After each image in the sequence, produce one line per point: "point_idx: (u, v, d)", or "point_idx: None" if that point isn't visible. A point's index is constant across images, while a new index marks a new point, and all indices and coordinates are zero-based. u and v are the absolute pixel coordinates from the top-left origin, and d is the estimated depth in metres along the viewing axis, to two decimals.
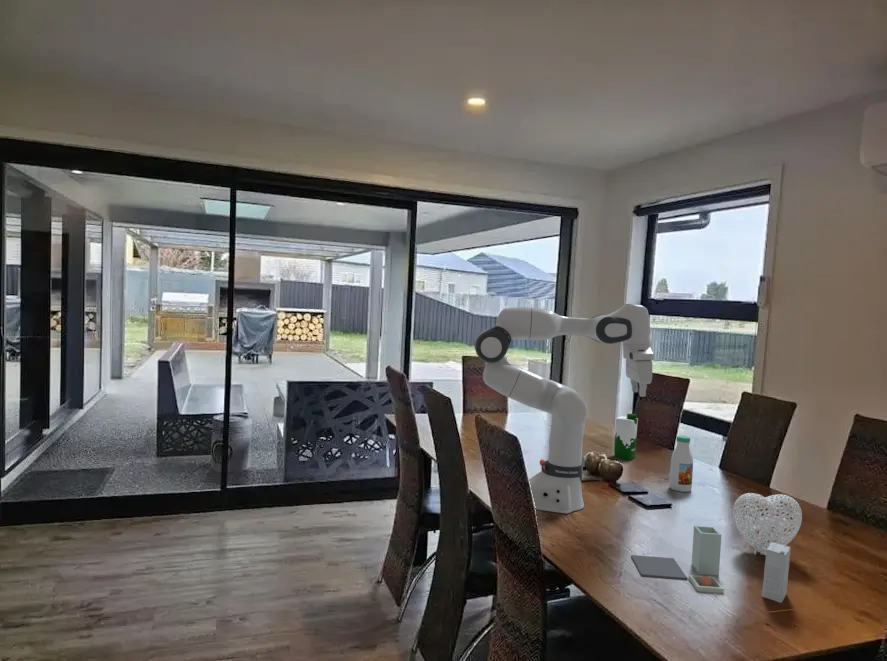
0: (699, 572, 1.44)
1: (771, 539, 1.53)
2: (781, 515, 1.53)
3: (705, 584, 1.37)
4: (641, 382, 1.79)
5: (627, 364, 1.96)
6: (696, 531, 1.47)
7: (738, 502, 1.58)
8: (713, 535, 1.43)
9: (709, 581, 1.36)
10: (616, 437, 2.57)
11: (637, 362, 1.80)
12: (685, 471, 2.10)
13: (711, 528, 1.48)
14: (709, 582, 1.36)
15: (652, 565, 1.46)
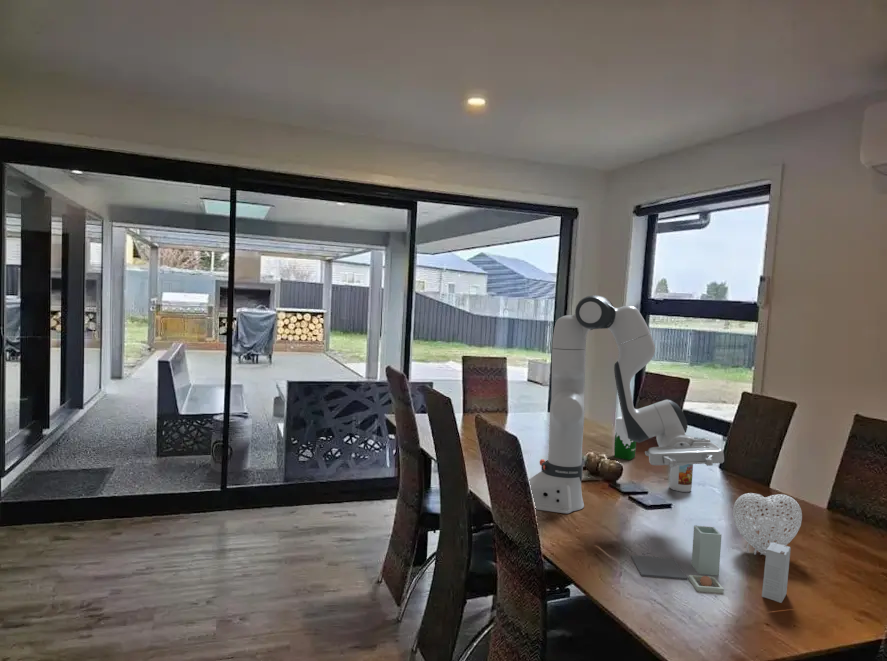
0: (699, 572, 1.44)
1: (771, 539, 1.53)
2: (781, 515, 1.53)
3: (705, 584, 1.36)
4: (722, 452, 1.61)
5: (657, 449, 1.68)
6: (696, 531, 1.47)
7: (738, 502, 1.58)
8: (713, 535, 1.43)
9: (709, 581, 1.36)
10: (616, 437, 2.57)
11: None
12: (685, 471, 2.10)
13: (711, 528, 1.48)
14: (709, 582, 1.36)
15: (652, 565, 1.46)
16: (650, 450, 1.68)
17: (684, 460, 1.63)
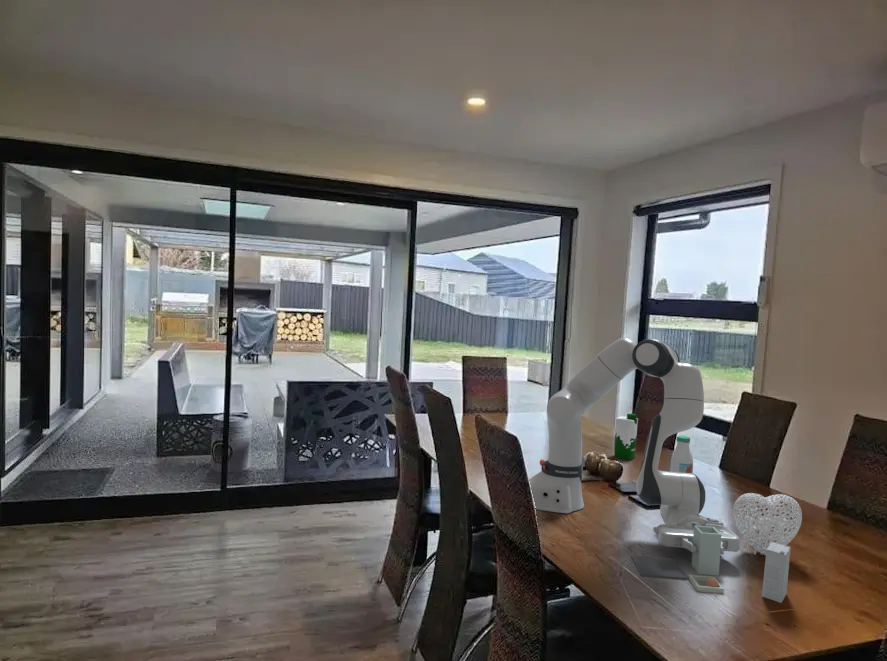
0: (699, 572, 1.44)
1: (771, 539, 1.53)
2: (781, 515, 1.53)
3: None
4: (739, 539, 1.49)
5: (668, 528, 1.55)
6: (696, 531, 1.47)
7: (738, 502, 1.58)
8: (713, 535, 1.43)
9: None
10: (616, 437, 2.57)
11: None
12: (685, 471, 2.10)
13: (711, 528, 1.48)
14: None
15: (652, 565, 1.46)
16: (661, 528, 1.54)
17: None
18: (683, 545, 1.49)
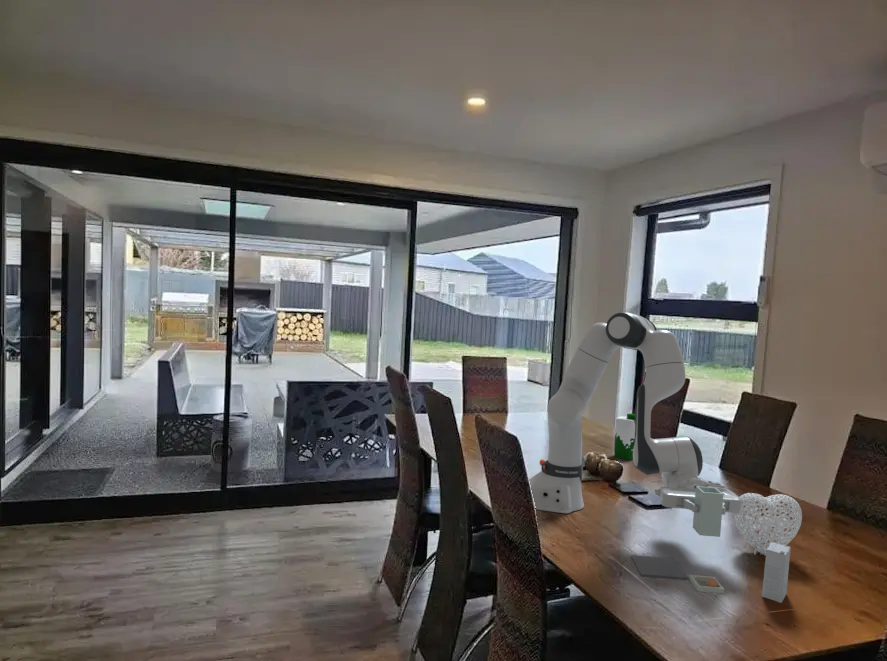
0: (701, 531, 1.44)
1: (771, 539, 1.53)
2: (781, 515, 1.53)
3: (708, 585, 1.36)
4: (740, 501, 1.49)
5: (669, 489, 1.54)
6: (698, 491, 1.46)
7: None
8: (715, 494, 1.43)
9: None
10: (616, 437, 2.57)
11: None
12: None
13: (713, 488, 1.47)
14: None
15: (652, 565, 1.46)
16: (662, 490, 1.53)
17: None
18: (685, 506, 1.48)
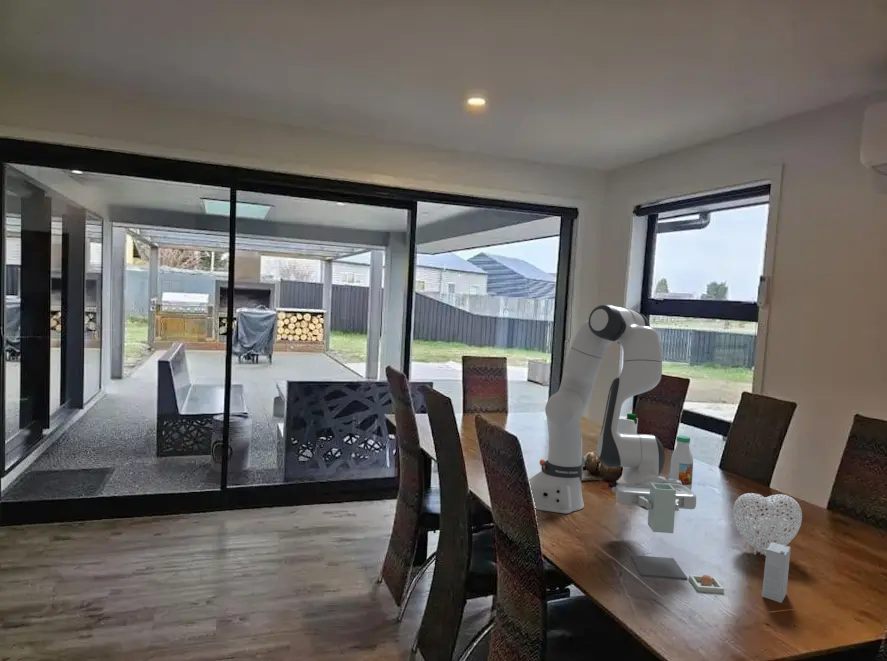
0: (654, 528, 1.44)
1: (771, 539, 1.53)
2: (781, 515, 1.53)
3: (703, 581, 1.37)
4: (695, 497, 1.49)
5: (626, 487, 1.54)
6: (652, 488, 1.46)
7: (738, 502, 1.58)
8: (668, 491, 1.43)
9: (708, 578, 1.37)
10: None
11: None
12: (685, 471, 2.10)
13: (667, 485, 1.47)
14: (708, 579, 1.37)
15: (652, 565, 1.46)
16: (618, 487, 1.54)
17: None
18: (639, 502, 1.49)
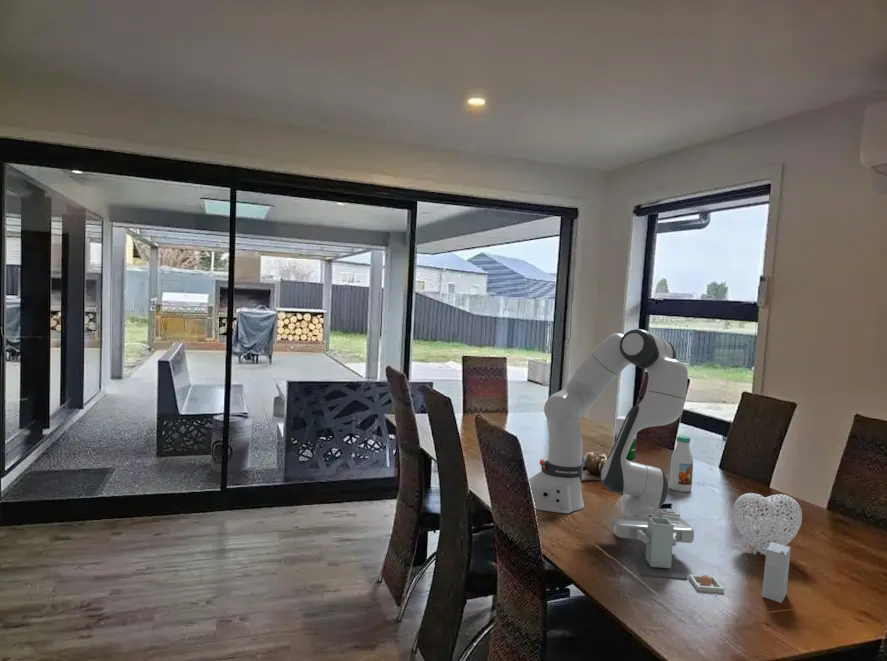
0: (652, 563, 1.44)
1: (771, 539, 1.53)
2: (781, 515, 1.53)
3: (702, 583, 1.37)
4: (693, 531, 1.50)
5: (624, 519, 1.55)
6: (649, 522, 1.47)
7: (738, 502, 1.58)
8: (665, 526, 1.43)
9: (706, 580, 1.37)
10: (616, 437, 2.57)
11: None
12: (685, 471, 2.10)
13: (665, 519, 1.48)
14: (706, 581, 1.37)
15: None
16: (616, 520, 1.54)
17: None
18: (637, 536, 1.49)
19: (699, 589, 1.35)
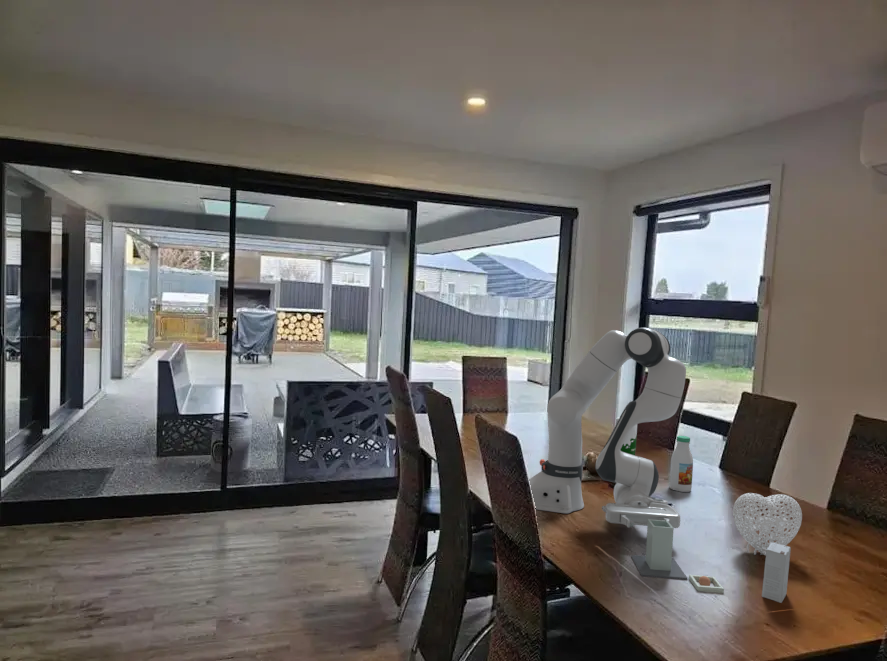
0: (651, 565, 1.44)
1: (771, 539, 1.53)
2: (781, 515, 1.53)
3: None
4: (679, 517, 1.60)
5: (615, 506, 1.65)
6: (649, 525, 1.47)
7: (738, 502, 1.58)
8: (665, 528, 1.44)
9: (705, 583, 1.36)
10: None
11: None
12: (685, 471, 2.10)
13: (665, 522, 1.48)
14: (705, 584, 1.36)
15: None
16: (608, 506, 1.64)
17: (640, 521, 1.61)
18: (621, 521, 1.59)
19: (699, 589, 1.35)
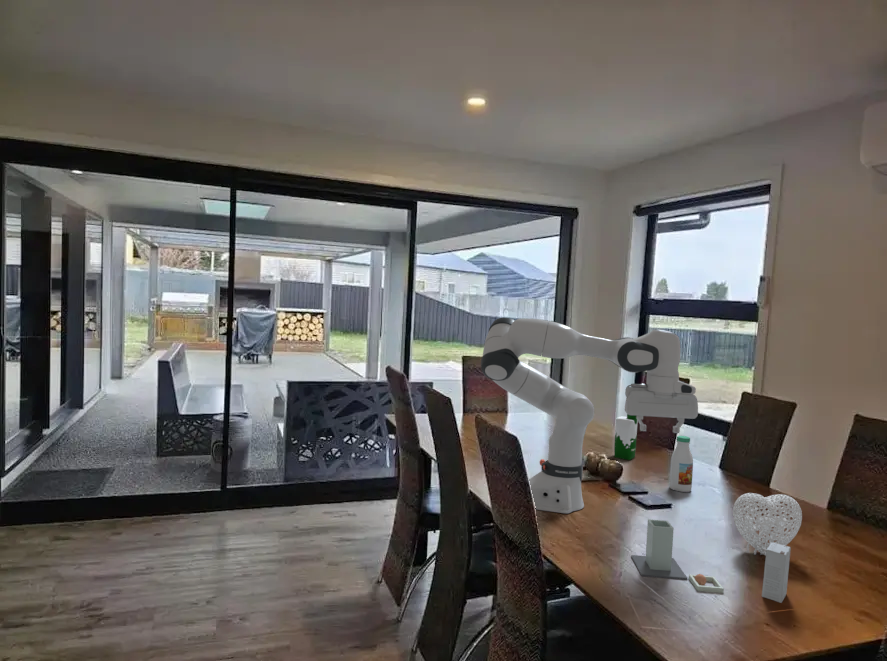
0: (651, 565, 1.44)
1: (771, 539, 1.53)
2: (781, 515, 1.53)
3: (700, 583, 1.37)
4: (696, 416, 1.65)
5: (637, 400, 1.66)
6: (649, 525, 1.47)
7: (738, 502, 1.58)
8: (665, 528, 1.44)
9: (700, 578, 1.37)
10: (616, 437, 2.57)
11: (694, 395, 1.64)
12: (685, 471, 2.10)
13: (665, 522, 1.48)
14: (700, 579, 1.37)
15: None
16: (629, 403, 1.66)
17: None
18: (637, 418, 1.68)
19: (699, 589, 1.35)
